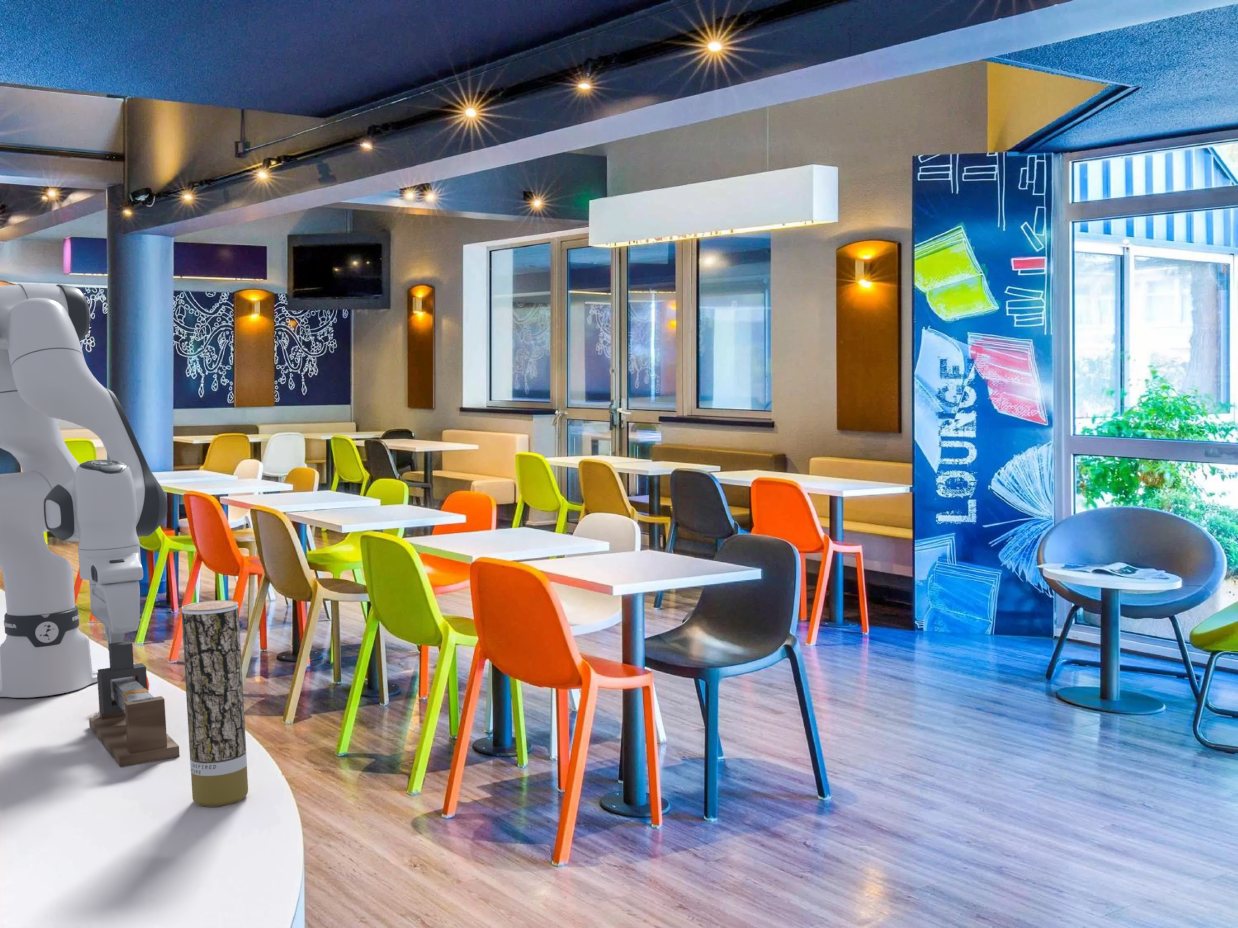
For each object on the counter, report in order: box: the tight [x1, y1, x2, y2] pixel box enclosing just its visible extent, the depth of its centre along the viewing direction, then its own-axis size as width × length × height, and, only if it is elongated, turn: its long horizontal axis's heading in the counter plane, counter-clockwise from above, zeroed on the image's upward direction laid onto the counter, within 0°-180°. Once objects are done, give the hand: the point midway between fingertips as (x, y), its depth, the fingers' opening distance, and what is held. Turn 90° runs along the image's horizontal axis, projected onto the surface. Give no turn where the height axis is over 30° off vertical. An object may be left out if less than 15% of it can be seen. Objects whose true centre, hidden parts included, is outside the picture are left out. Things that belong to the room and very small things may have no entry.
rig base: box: [88, 673, 180, 768], centre depth 180 cm, size 25×8×8 cm, turn 33°
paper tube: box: [181, 599, 249, 808], centre depth 152 cm, size 7×7×25 cm
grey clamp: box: [97, 640, 148, 715], centre depth 184 cm, size 3×6×10 cm, turn 123°
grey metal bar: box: [110, 677, 155, 712], centre depth 180 cm, size 22×3×3 cm, turn 33°
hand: (116, 652), depth 187 cm, fingers closed
